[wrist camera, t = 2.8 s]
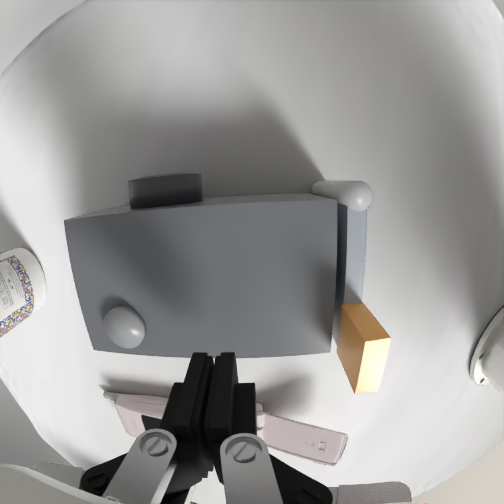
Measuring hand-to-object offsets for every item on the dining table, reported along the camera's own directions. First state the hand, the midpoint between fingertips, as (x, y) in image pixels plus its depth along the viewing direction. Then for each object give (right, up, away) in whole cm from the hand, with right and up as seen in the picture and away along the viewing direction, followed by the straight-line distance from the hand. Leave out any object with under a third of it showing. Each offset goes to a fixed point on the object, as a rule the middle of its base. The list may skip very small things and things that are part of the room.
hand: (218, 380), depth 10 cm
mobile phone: (-2, -12, +15) cm, 20 cm away
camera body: (-1, +5, +10) cm, 12 cm away
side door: (+7, +6, +10) cm, 14 cm away
